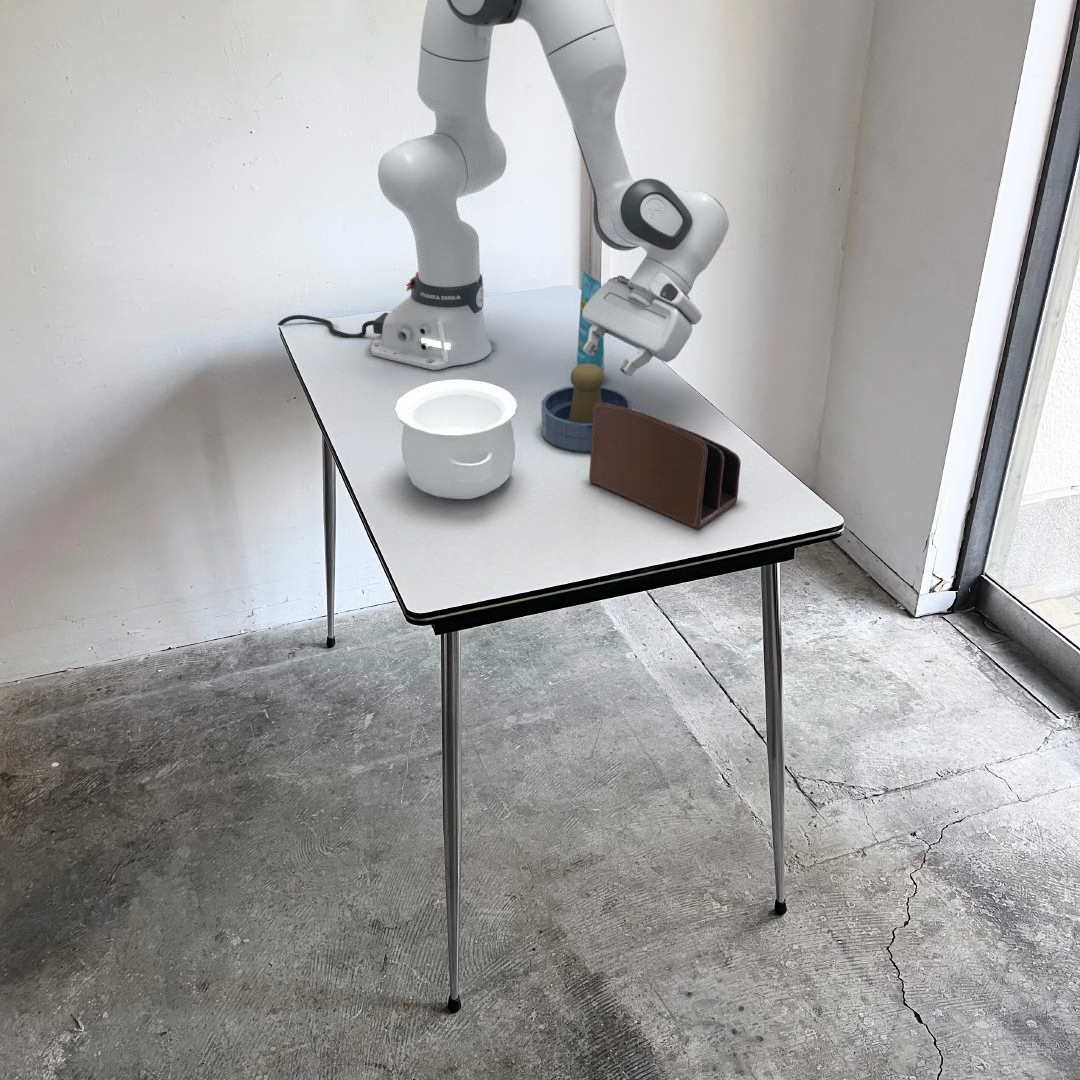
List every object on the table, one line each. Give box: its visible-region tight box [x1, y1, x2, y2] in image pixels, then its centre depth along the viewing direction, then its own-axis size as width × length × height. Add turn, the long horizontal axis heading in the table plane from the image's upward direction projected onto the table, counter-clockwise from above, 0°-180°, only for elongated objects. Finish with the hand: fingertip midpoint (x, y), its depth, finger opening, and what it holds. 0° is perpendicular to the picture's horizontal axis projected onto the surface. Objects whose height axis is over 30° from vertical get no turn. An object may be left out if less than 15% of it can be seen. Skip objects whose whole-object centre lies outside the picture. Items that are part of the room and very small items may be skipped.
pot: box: [394, 379, 518, 500], centre depth 159 cm, size 22×17×12 cm
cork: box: [569, 364, 605, 423], centre depth 172 cm, size 6×6×11 cm
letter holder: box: [588, 403, 742, 530], centre depth 155 cm, size 10×20×14 cm, turn 48°
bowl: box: [540, 385, 634, 452], centre depth 174 cm, size 14×14×5 cm
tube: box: [576, 268, 605, 374], centre depth 187 cm, size 7×5×19 cm, turn 26°
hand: (605, 363), depth 171 cm, fingers open, 8 cm apart
